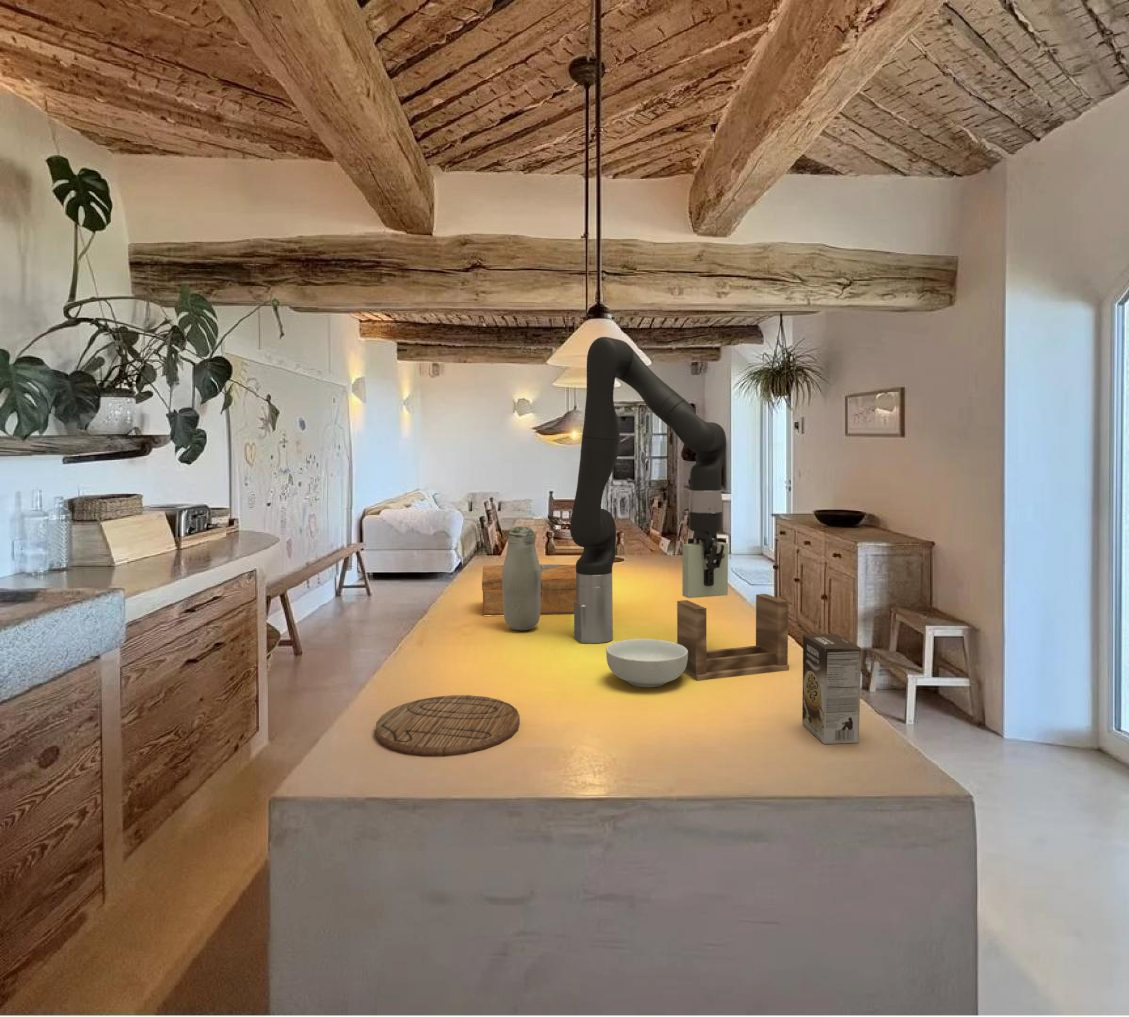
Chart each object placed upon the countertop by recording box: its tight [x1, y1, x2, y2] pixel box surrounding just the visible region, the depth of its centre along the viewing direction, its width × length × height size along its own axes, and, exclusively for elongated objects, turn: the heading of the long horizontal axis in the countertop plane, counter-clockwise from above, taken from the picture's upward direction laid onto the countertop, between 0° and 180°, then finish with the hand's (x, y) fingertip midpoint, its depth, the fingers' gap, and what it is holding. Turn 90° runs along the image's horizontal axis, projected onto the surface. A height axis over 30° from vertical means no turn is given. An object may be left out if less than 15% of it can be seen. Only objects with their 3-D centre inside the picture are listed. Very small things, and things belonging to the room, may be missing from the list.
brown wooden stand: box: [676, 593, 790, 682], centre depth 162 cm, size 22×10×15 cm, turn 107°
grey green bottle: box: [502, 526, 541, 632], centre depth 200 cm, size 10×10×28 cm
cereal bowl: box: [605, 638, 688, 688], centre depth 155 cm, size 17×17×7 cm
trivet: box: [375, 694, 521, 757], centre depth 131 cm, size 25×25×2 cm
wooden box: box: [481, 563, 576, 616], centre depth 224 cm, size 30×16×14 cm, turn 91°
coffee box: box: [801, 633, 862, 745], centre depth 125 cm, size 9×6×16 cm
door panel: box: [681, 541, 729, 599], centre depth 171 cm, size 10×4×12 cm, turn 107°
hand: (705, 583), depth 172 cm, fingers closed on door panel, 3 cm apart
